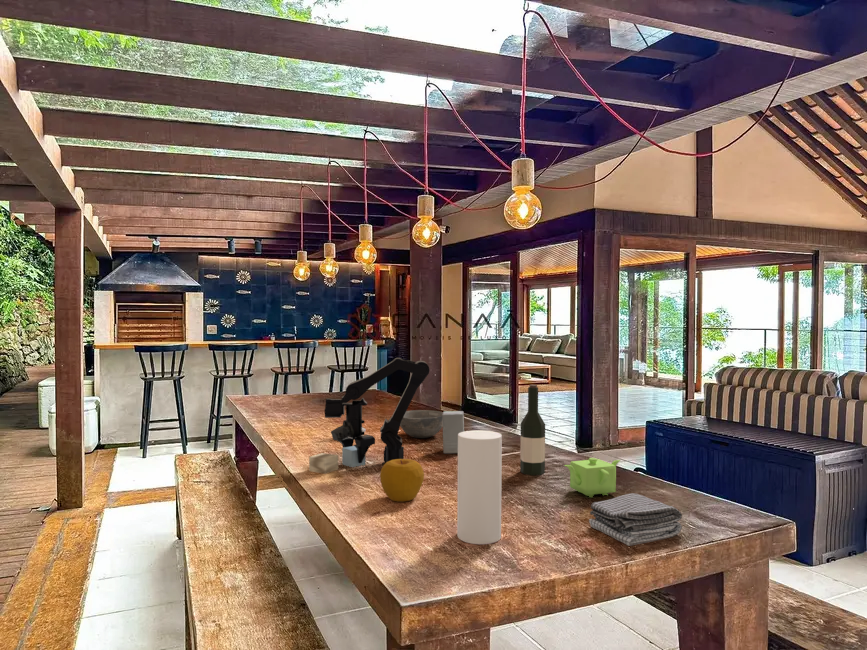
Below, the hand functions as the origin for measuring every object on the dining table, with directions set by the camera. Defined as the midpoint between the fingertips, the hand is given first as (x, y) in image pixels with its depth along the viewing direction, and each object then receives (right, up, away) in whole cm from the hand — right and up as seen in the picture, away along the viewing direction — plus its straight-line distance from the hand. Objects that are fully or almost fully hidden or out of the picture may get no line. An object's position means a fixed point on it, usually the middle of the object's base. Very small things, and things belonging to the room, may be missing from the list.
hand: (353, 460), depth 213 cm
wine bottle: (+63, -2, -9) cm, 63 cm away
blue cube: (0, -1, 0) cm, 1 cm away
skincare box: (+36, -1, +20) cm, 41 cm away
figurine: (-6, 0, +47) cm, 47 cm away
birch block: (-9, -2, -8) cm, 12 cm away
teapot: (+77, -3, -32) cm, 84 cm away
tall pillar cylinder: (+40, -3, -67) cm, 78 cm away
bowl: (+23, -1, +49) cm, 54 cm away
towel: (+79, -4, -63) cm, 101 cm away
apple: (+19, -2, -39) cm, 43 cm away
